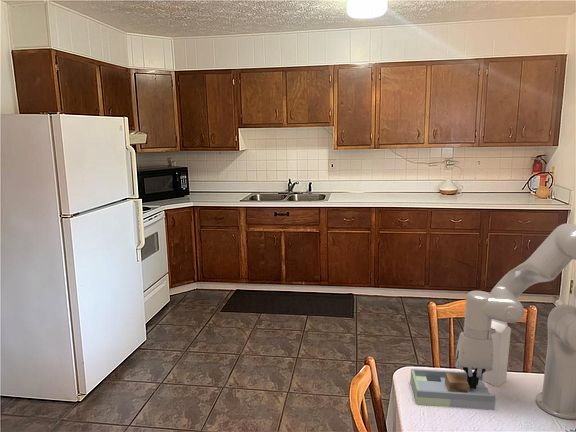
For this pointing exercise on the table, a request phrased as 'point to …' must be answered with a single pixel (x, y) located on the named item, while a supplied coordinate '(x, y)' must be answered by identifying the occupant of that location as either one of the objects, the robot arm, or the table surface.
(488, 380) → the milk
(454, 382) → the block
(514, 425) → the table surface
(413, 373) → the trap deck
